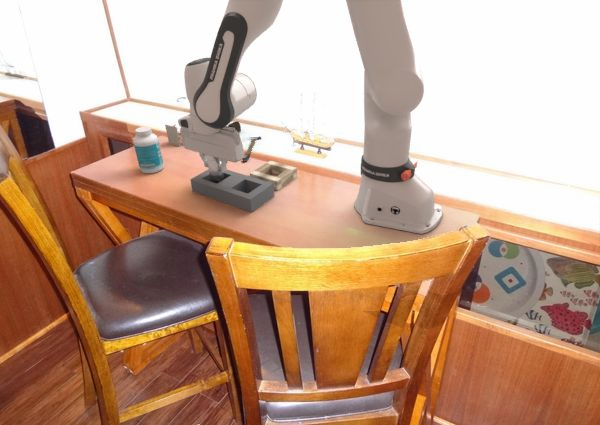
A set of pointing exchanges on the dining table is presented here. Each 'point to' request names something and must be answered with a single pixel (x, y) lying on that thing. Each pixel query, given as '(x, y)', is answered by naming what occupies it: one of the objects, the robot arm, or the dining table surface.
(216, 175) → the metal peg
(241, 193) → the block
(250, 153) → the tomahawk
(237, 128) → the dark brown bar
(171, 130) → the architectural model
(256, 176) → the socket block
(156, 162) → the pill bottle
